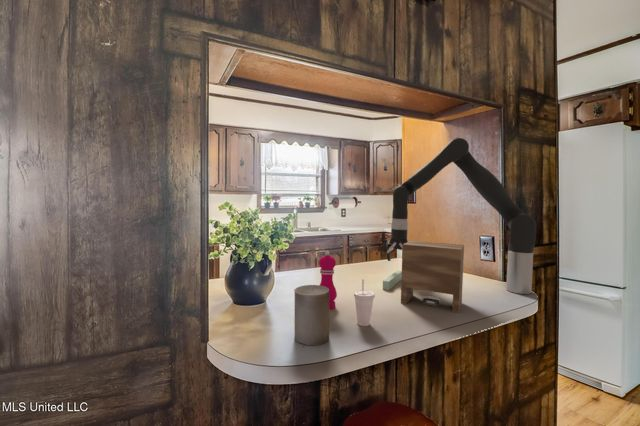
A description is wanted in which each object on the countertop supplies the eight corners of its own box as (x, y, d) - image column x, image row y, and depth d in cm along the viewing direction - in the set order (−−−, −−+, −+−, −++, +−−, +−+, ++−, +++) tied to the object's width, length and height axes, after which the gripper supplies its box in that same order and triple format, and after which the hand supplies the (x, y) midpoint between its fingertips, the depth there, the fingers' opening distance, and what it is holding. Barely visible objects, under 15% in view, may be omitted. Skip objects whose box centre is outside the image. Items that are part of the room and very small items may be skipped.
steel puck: (424, 300, 127) (424, 295, 127) (440, 302, 124) (441, 297, 124) (421, 304, 122) (421, 299, 121) (438, 307, 119) (438, 302, 119)
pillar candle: (325, 330, 96) (326, 279, 96) (332, 344, 87) (332, 289, 86) (292, 332, 95) (292, 280, 94) (295, 347, 85) (295, 290, 85)
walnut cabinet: (408, 294, 133) (409, 240, 132) (461, 303, 123) (464, 245, 122) (400, 302, 122) (402, 244, 121) (458, 312, 113) (461, 249, 112)
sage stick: (396, 278, 160) (397, 270, 160) (402, 279, 159) (402, 271, 159) (382, 290, 140) (382, 280, 140) (388, 290, 139) (388, 281, 138)
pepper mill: (315, 309, 113) (316, 252, 112) (316, 303, 120) (317, 249, 119) (336, 310, 113) (337, 253, 112) (336, 303, 120) (337, 249, 119)
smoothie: (349, 321, 103) (350, 277, 102) (366, 318, 106) (367, 276, 105) (359, 329, 97) (361, 282, 97) (378, 326, 100) (379, 280, 99)
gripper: (416, 228, 156) (414, 262, 156) (387, 226, 162) (385, 258, 163) (412, 229, 149) (411, 265, 150) (382, 227, 156) (381, 261, 157)
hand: (398, 261), depth 157 cm, fingers open, 8 cm apart
